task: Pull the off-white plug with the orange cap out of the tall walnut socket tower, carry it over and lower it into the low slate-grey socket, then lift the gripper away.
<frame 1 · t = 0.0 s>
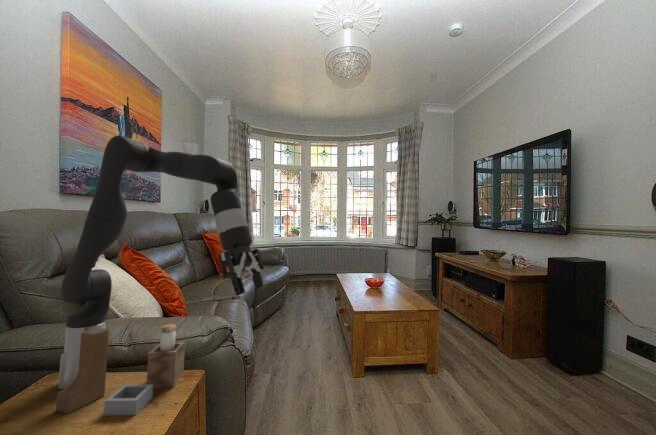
hand: (250, 290, 71), 31 cm above the table, tool tilted 20°, fingers open, 8 cm apart
socket tower: (165, 380, 87), on the table
wooden block: (81, 403, 76), on the table
plug: (167, 355, 88), point 7 cm above the table, touching socket tower
low socket: (129, 406, 75), on the table
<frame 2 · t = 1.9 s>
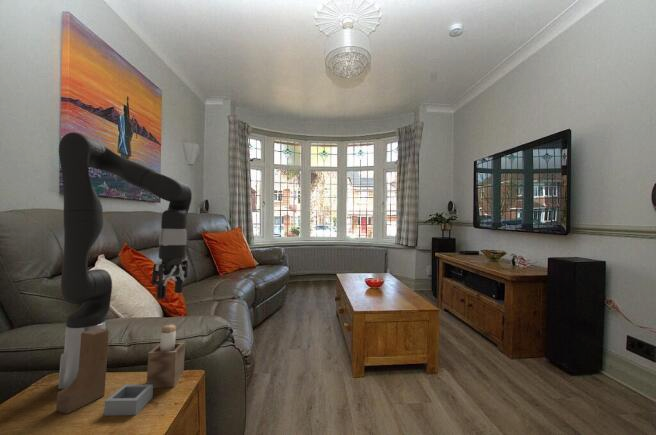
hand: (170, 295, 89), 26 cm above the table, tool pointing down, fingers open, 8 cm apart
nothing on the table moved.
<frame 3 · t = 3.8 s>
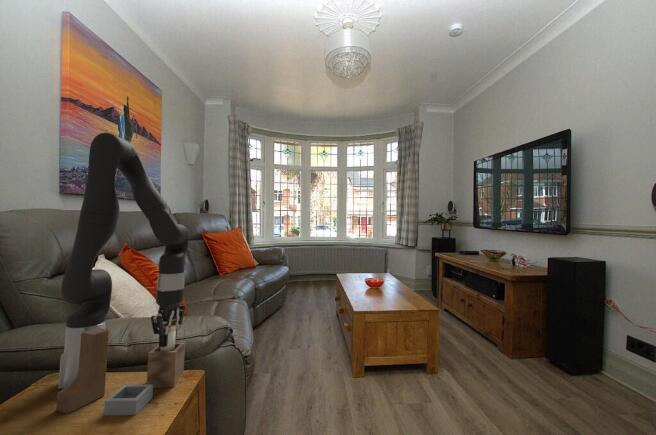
hand: (167, 343, 88), 11 cm above the table, tool pointing down, fingers closed on plug, 4 cm apart
plug: (167, 355, 88), point 7 cm above the table, touching gripper, socket tower
everything else where it was.
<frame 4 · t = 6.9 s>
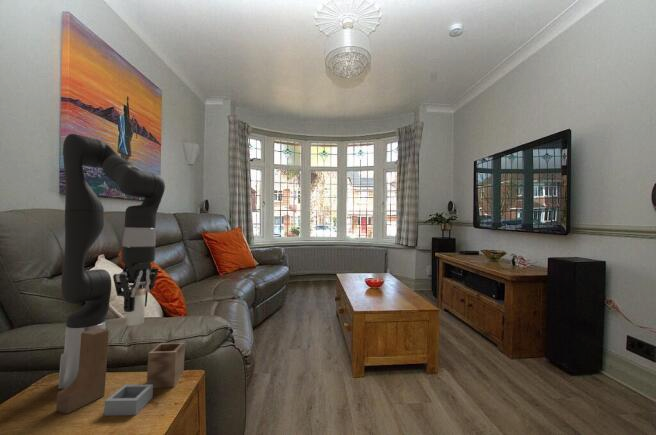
hand: (135, 308, 76), 25 cm above the table, tool pointing down, fingers closed on plug, 4 cm apart
plug: (134, 323, 76), point 21 cm above the table, touching gripper
everything else where it was.
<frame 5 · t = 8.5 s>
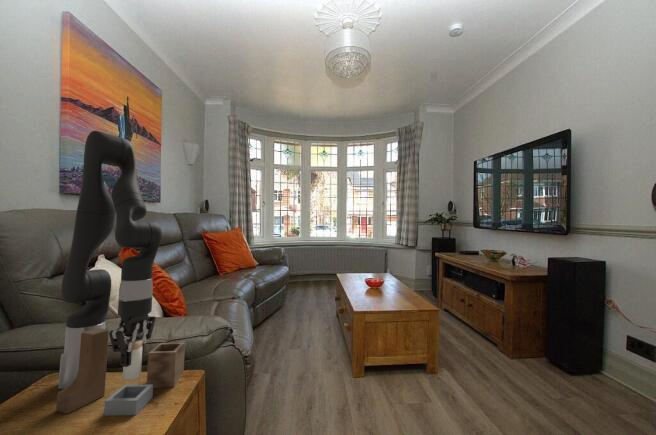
hand: (132, 361, 75), 11 cm above the table, tool pointing down, fingers closed on plug, 4 cm apart
plug: (131, 376, 75), point 7 cm above the table, touching gripper
everything else where it was.
when the fingers open (6 cm above the table, at t = 9.8 s): plug drops 1 cm, resting on low socket.
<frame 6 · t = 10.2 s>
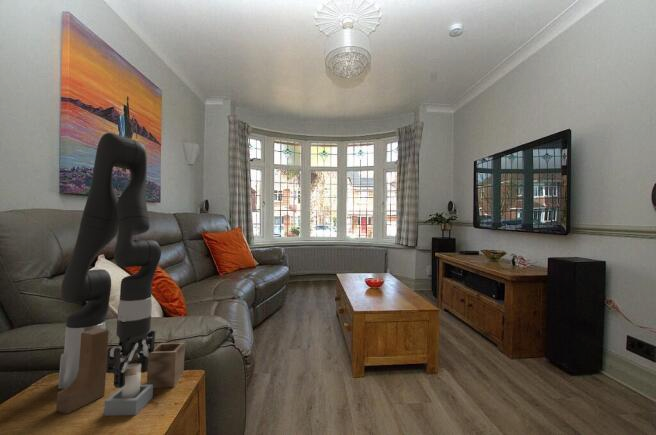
hand: (131, 379, 75), 7 cm above the table, tool pointing down, fingers open, 7 cm apart
plug: (130, 401, 75), point 1 cm above the table, touching low socket
everything else where it was.
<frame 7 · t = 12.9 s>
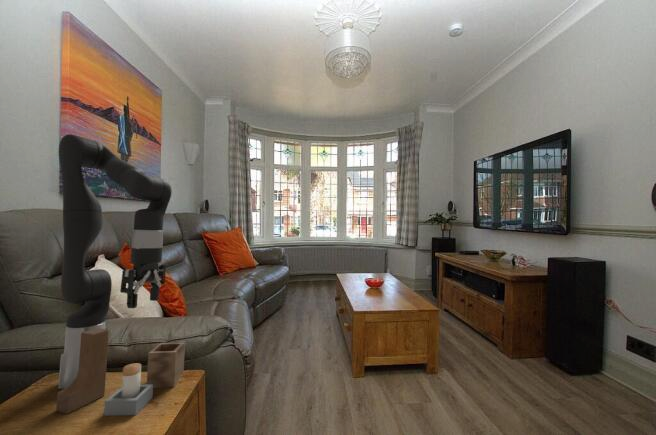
hand: (143, 304, 80), 25 cm above the table, tool pointing down, fingers open, 8 cm apart
nothing on the table moved.
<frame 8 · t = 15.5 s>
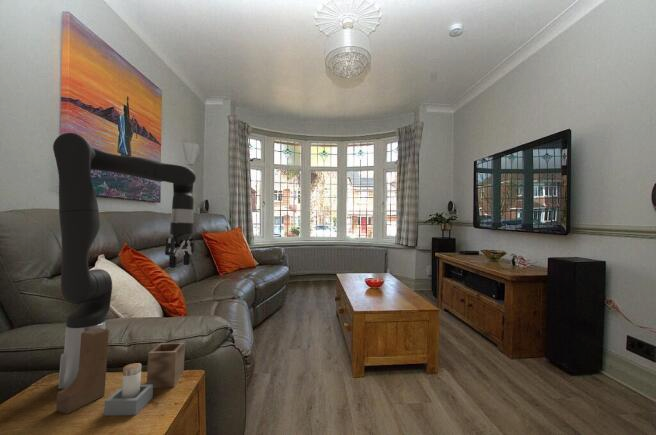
hand: (179, 266, 104), 33 cm above the table, tool pointing down, fingers open, 8 cm apart
nothing on the table moved.
at the end: plug 0.1 cm off-centre on the low socket, point 1.0 cm above the low socket's base; plug tilted 0°; the gripper is holding nothing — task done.
